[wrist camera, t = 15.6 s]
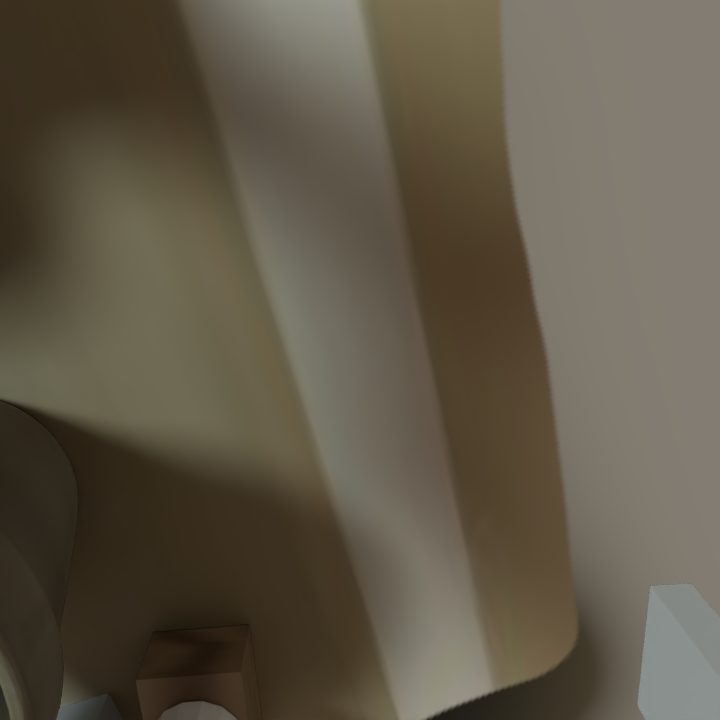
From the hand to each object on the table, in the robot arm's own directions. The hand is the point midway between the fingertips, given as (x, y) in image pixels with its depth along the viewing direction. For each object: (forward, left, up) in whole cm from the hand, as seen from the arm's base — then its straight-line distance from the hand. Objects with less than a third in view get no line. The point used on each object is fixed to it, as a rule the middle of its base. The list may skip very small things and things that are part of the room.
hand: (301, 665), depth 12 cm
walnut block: (-12, -31, -34) cm, 47 cm away
